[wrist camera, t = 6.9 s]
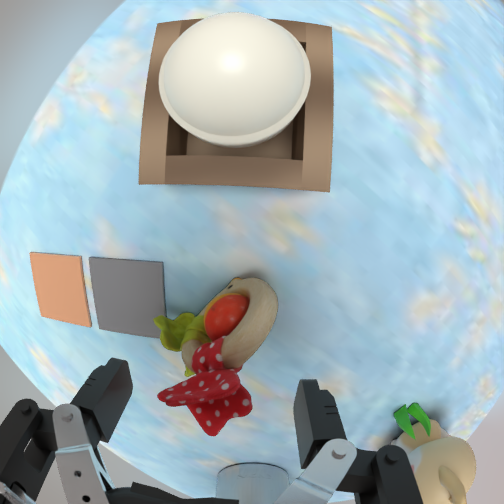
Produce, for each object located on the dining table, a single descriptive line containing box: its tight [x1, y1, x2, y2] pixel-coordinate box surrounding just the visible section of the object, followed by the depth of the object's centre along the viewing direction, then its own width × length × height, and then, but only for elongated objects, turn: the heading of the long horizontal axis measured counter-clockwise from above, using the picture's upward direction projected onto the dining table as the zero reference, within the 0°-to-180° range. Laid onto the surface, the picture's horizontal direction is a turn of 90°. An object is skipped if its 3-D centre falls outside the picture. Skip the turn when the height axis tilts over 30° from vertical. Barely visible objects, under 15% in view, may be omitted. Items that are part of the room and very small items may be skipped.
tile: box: [30, 252, 92, 327], centre depth 21 cm, size 6×6×1 cm
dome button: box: [159, 12, 311, 148], centre depth 11 cm, size 6×6×7 cm
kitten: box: [391, 403, 476, 504], centre depth 18 cm, size 15×10×15 cm
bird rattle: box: [153, 278, 278, 436], centre depth 16 cm, size 6×11×9 cm
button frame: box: [139, 19, 334, 192], centre depth 15 cm, size 10×10×5 cm
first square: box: [89, 257, 166, 338], centre depth 21 cm, size 6×6×1 cm
